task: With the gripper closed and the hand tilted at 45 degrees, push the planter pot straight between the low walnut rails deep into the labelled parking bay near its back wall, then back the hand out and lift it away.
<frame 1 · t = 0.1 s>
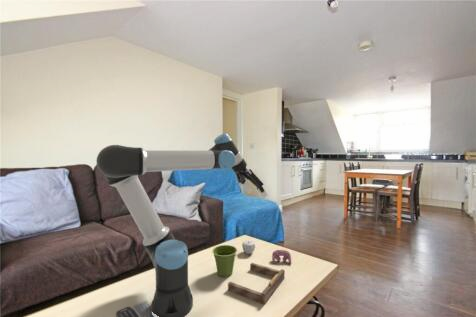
hand: (257, 194, 120), 36 cm above the table, tool tilted 35°, fingers open, 13 cm apart
parking bay: (256, 283, 102), on the table
plant pot: (224, 273, 110), on the table
apple: (248, 253, 132), on the table
video game controller: (281, 262, 122), on the table
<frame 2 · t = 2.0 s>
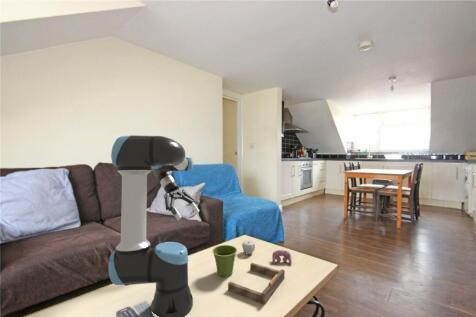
hand: (189, 215, 123), 24 cm above the table, tool tilted 45°, fingers open, 13 cm apart
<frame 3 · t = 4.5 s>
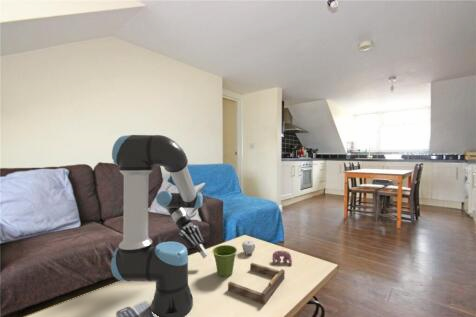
hand: (205, 256, 116), 6 cm above the table, tool tilted 45°, fingers closed
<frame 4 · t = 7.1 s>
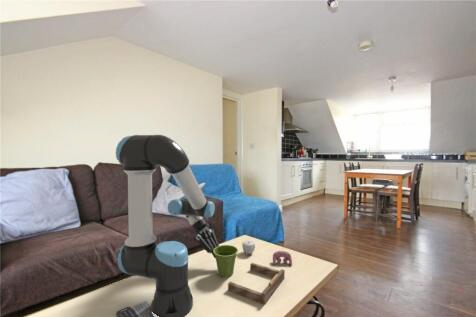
hand: (221, 262, 114), 3 cm above the table, tool tilted 40°, fingers closed
plant pot: (225, 273, 110), on the table, touching gripper
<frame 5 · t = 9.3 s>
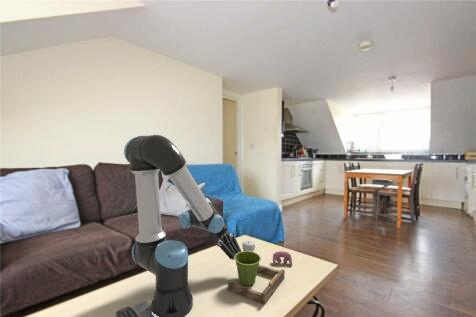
hand: (245, 269, 107), 4 cm above the table, tool tilted 40°, fingers closed
plant pot: (246, 282, 103), on the table, touching gripper
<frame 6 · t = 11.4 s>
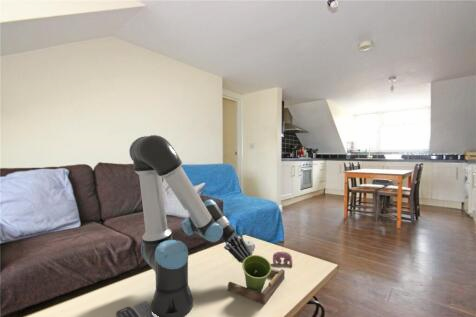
hand: (255, 272, 101), 5 cm above the table, tool tilted 45°, fingers closed
plant pot: (254, 286, 98), point 1 cm above the table, touching gripper
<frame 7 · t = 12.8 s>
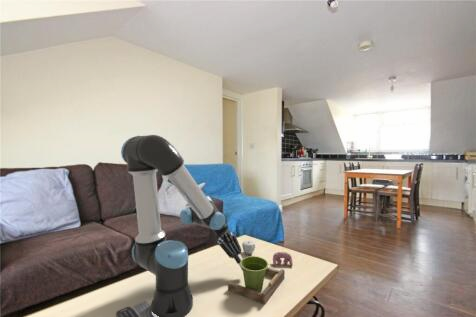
hand: (244, 268, 107), 4 cm above the table, tool tilted 40°, fingers closed
plant pot: (253, 288, 98), on the table
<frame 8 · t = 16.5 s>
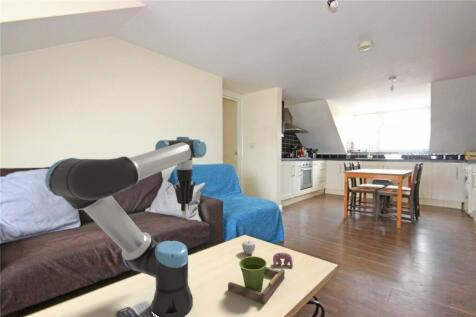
hand: (185, 217, 112), 26 cm above the table, tool pointing down, fingers closed
at the end: plant pot inside the target area on the parking bay (3.9 cm from its centre), point 0.0 cm above the parking bay's base; plant pot tilted 1° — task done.
